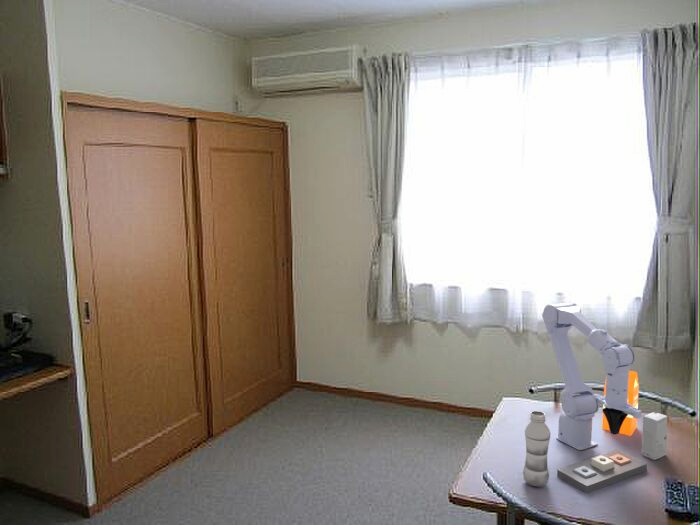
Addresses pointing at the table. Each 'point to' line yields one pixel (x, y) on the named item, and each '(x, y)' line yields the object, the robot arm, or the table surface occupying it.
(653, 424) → the skincare box
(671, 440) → the table surface
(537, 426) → the plastic bottle
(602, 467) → the cream key
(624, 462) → the terracotta key
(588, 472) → the grey blue key
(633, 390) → the orange juice
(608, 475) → the keypad
